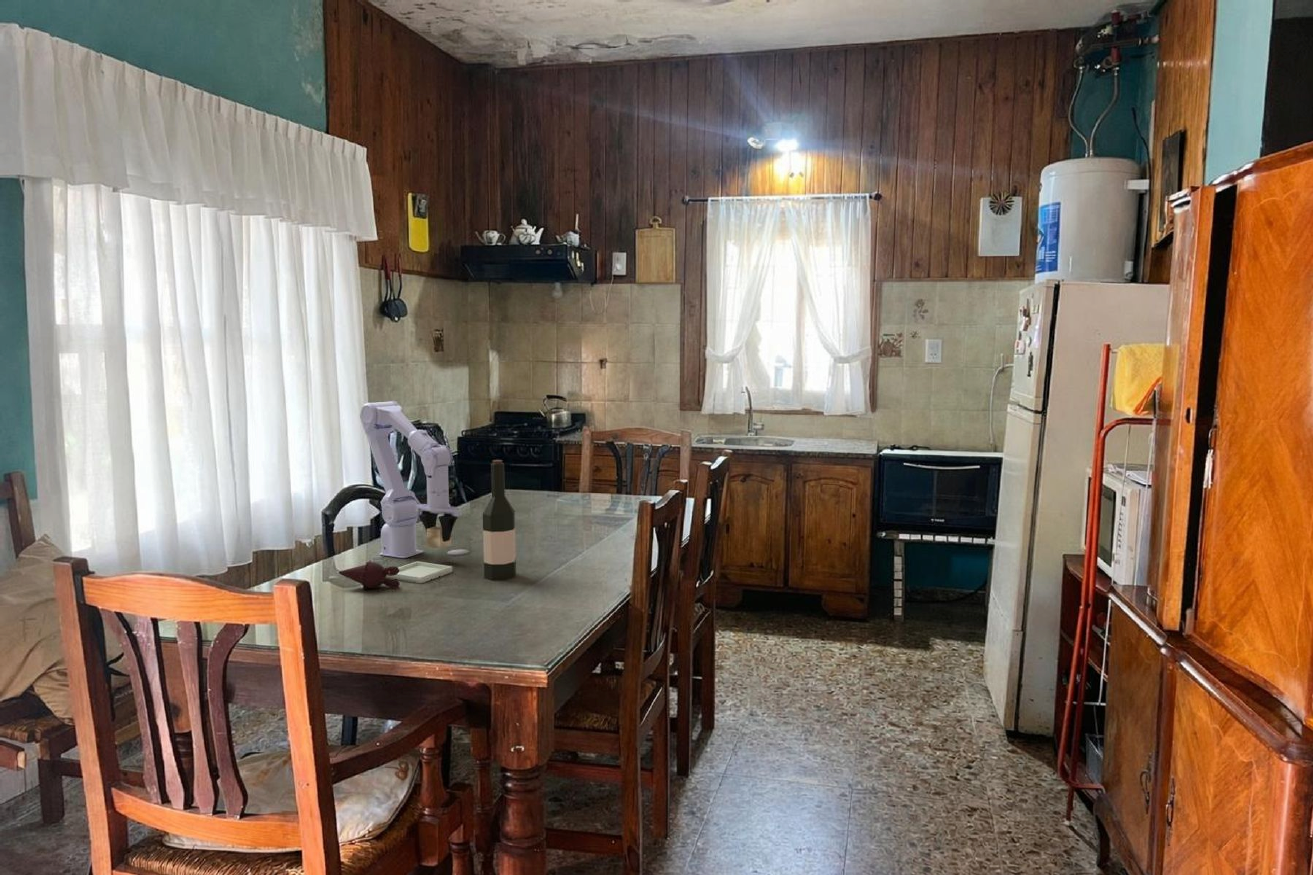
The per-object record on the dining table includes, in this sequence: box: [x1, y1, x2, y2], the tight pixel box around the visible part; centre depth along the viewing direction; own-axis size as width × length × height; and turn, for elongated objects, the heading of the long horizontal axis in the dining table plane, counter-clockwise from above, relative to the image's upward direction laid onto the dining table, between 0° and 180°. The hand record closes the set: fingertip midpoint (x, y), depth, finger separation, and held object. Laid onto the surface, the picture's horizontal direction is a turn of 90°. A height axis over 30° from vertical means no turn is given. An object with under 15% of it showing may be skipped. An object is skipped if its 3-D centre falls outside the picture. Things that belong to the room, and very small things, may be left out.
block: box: [426, 525, 452, 549], centre depth 235 cm, size 4×4×5 cm
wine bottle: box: [482, 459, 517, 582], centre depth 219 cm, size 8×8×30 cm
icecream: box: [338, 560, 400, 590], centre depth 211 cm, size 7×7×15 cm
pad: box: [447, 548, 470, 556], centre depth 246 cm, size 6×6×1 cm
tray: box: [386, 560, 453, 584], centre depth 223 cm, size 12×12×2 cm
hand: (439, 539), depth 235 cm, fingers closed on block, 4 cm apart
